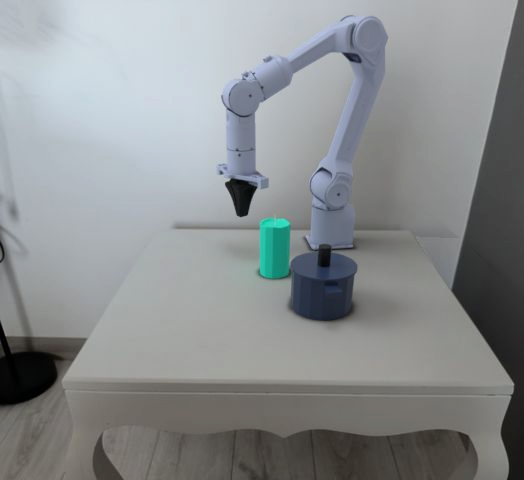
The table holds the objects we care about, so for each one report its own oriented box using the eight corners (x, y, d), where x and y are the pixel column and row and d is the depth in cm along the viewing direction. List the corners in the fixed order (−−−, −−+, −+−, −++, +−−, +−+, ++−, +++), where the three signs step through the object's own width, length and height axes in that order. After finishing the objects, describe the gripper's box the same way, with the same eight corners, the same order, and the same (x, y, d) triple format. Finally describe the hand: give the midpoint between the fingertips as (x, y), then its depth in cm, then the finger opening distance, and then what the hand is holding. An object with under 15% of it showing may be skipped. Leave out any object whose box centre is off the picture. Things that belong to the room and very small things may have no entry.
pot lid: (346, 255, 95) (348, 232, 92) (365, 283, 85) (368, 258, 83) (284, 258, 93) (285, 235, 91) (297, 287, 84) (298, 261, 81)
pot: (338, 283, 100) (341, 247, 96) (362, 326, 87) (367, 286, 83) (283, 287, 99) (284, 250, 95) (300, 330, 86) (302, 290, 82)
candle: (287, 279, 102) (289, 221, 95) (257, 277, 103) (257, 219, 96) (290, 267, 107) (292, 210, 100) (262, 265, 108) (262, 209, 101)
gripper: (203, 144, 103) (207, 210, 111) (248, 158, 94) (249, 229, 102) (230, 140, 107) (232, 204, 115) (277, 152, 98) (275, 221, 105)
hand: (242, 215), depth 108 cm, fingers closed
